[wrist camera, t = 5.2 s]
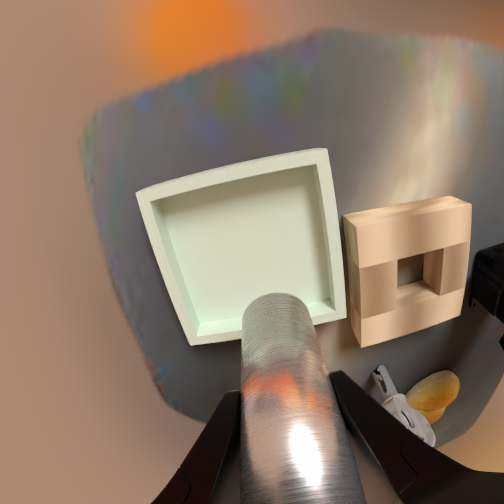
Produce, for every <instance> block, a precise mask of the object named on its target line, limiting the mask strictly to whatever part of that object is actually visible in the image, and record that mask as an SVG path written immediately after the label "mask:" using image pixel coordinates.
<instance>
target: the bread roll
mask: <svg viewBox="0 0 504 504" xmlns="http://www.w3.org/2000/svg"><path fill="white" fill-rule="evenodd" d="M459 388H460V383H459V379H458V377H457V376H456V375H455V374H454V373H453V372H451V371H449V370H443V371H439V372H436V373H433V374H432V375H430V376H428V377H426V378H424V379H423V380H421V381H420V382H418V383H417V384H416V385H414V386H413V387H412V388H411V389H410V390H409V391H408V393H407V394H406V395H405V397H406V402H407V404H408V406H410V407H411V408H413V409H414V410H416V411H417V412H419V413H420V414H422V415H423V416H424V417H425V418H426V419H427V421H428V423H429V424H432V423H434V422H435V421H437V420H438V419H439V418H440V417H441V416H442V414H443V412H444V410H445V408H446V406H447V405H449V404H450V403H451V402H452V401H453V400H454V399H455V398H456V396H457V394H458V392H459Z"/></svg>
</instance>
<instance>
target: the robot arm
mask: <svg viewBox="0 0 504 504" xmlns="http://www.w3.org/2000/svg"><path fill="white" fill-rule="evenodd" d="M481 305H482V306H483V307H484V308H485V309H486V310H487V311H488V312H489V313H490V314H491V315H493V316H496V317H497V318H498V319H499V320H500V321H501V322H502V323H503V324H504V243H501V244H498V245H495V246H492V247H489V248H486V249H483V250H480V251H479V252H478V253H477V256H476V265H475V273H474V279H473V286H472V292H471V297H470V303H469V307H470V308H471V309H475V308H477V307H479V306H481ZM499 343H500V345H501V347H502V349H503V350H504V335H503V336H502V337H501V339H500V341H499ZM329 375H330V378H331V381H332V384H333V388H334V391H335V394H336V397H337V401H338V404H339V407H340V410H341V413H342V416H343V419H344V423H345V426H346V429H347V433H348V436H349V440H350V443H351V447H352V450H353V454H354V457H355V461H356V464H357V468H358V472H359V475H360V479H361V483H362V486H363V490H364V494H365V498H366V502H367V504H504V473H498V472H483V471H476V470H473V469H470V468H467V467H465V466H463V465H461V464H460V463H458V462H456V461H454V460H453V459H451V458H449V457H448V456H446V455H444V454H443V453H441V452H439V451H438V450H436V449H435V448H433V447H432V446H430V445H429V444H427V443H426V442H424V441H423V440H422V439H420V438H419V437H418V436H417V435H415V434H414V433H413V432H412V431H411V430H409V429H408V428H407V429H406V426H405V425H403V424H402V423H401V422H400V421H399V420H398V419H397V418H395V417H394V416H393V415H392V414H391V413H390V412H388V411H387V410H386V409H385V408H384V407H383V406H382V405H380V404H379V403H378V402H377V401H376V400H375V399H374V398H372V397H371V396H370V395H369V394H368V393H367V392H366V391H365V390H363V389H362V388H361V387H360V386H359V385H358V384H357V383H356V382H354V381H353V380H352V379H351V378H350V377H349V376H348V375H347V374H346V373H344V372H343V371H342V370H338V371H334V372H331V373H330V374H329ZM240 425H241V394H240V392H239V391H238V390H234V391H228V392H226V393H225V395H224V397H223V398H222V400H221V402H220V403H219V405H218V407H217V408H216V410H215V412H214V413H213V415H212V416H211V418H210V420H209V421H208V423H207V425H206V426H205V428H204V430H203V431H202V433H201V434H200V436H199V437H198V439H197V441H196V442H195V444H194V445H193V447H192V448H191V450H190V451H189V453H188V455H187V456H186V458H185V459H184V461H183V463H182V464H181V465H180V468H178V470H177V471H176V473H175V474H174V476H173V477H172V479H171V480H170V481H169V483H168V484H167V485H166V487H165V488H164V489H163V490H162V492H161V493H160V494H159V495H158V496H157V497H156V498H155V500H154V501H153V502H152V503H151V504H240Z"/></svg>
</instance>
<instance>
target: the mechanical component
mask: <svg viewBox="0 0 504 504" xmlns="http://www.w3.org/2000/svg"><path fill="white" fill-rule="evenodd" d="M377 371H378V372H379V373H380V374H381V375H382V376H381V375H377V374H375V373H374V372H372V376H373V378H374V380H375V383H376V385H377V387H378V390H379V392H380V395H381V397H382V399H383V403H382V404H381V405H382V406H383V407H384V408H385V409H386V410H387V411H388V412H390V413H391V414H392V415H393V416H394V417H395V418H397V419H398V420H399V421H400V422H401V423H402V424H403V425H405V426H406V429H407V428H408V429H409V430H411V431H412V432H413V433H414V434H415V435H417V436H418V437H419V438H420V439H422V440H423V441H424V442H426V443H427V444H429V445H430V446H432V447H433V446H434V444H435V441H436V438H435V435H434V433H433V430H432V428H431V426H430V424H429V423H428V421H427V419H426V418H425V417H424V416H423V415H422V414H420V413H419V412H417V411H416V410H414V409H413V408H411V407H410V406H408V404H407V402H406V397H405V395H403V394H398V393H397V391H396V389H395V387H394V384H393V382H392V380H391V378H390V376H389V374H388V372H387V370H386V368H385V366H383V365H380V366H379V367H378V369H377ZM384 384H386V386H387V390H386V388H385V386H384Z"/></svg>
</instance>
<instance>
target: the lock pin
mask: <svg viewBox="0 0 504 504" xmlns="http://www.w3.org/2000/svg"><path fill="white" fill-rule="evenodd" d="M240 504H367V502H366V498H365V494H364V490H363V486H362V483H361V479H360V475H359V472H358V468H357V464H356V461H355V457H354V454H353V450H352V447H351V443H350V440H349V436H348V433H347V429H346V426H345V423H344V419H343V416H342V413H341V410H340V407H339V404H338V401H337V397H336V394H335V391H334V388H333V384H332V381H331V378H330V375H329V371H328V368H327V365H326V361H325V358H324V355H323V352H322V349H321V346H320V343H319V340H318V337H317V334H316V331H315V328H314V325H313V322H312V319H311V316H310V313H309V311H308V308H307V306H306V305H305V304H304V302H303V301H301V300H300V299H299V298H297V297H295V296H293V295H291V294H287V293H270V294H266V295H263V296H261V297H259V298H257V299H255V300H254V301H253V302H252V303H250V304H249V306H248V307H247V308H246V310H245V312H244V314H243V317H242V345H241V425H240Z"/></svg>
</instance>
